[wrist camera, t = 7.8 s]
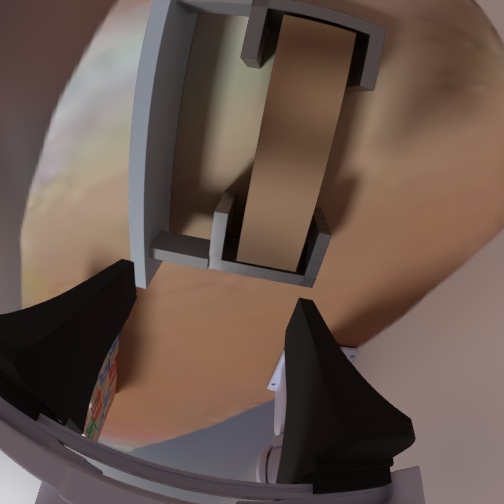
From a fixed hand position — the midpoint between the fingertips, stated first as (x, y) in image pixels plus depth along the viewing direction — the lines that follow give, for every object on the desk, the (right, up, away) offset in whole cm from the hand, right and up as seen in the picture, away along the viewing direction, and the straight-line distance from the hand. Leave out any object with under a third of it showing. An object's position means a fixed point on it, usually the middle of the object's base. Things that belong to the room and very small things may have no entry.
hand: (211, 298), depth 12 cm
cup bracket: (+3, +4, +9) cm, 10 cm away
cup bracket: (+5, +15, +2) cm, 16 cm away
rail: (+4, +10, +6) cm, 12 cm away
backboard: (-2, +11, +5) cm, 12 cm away
